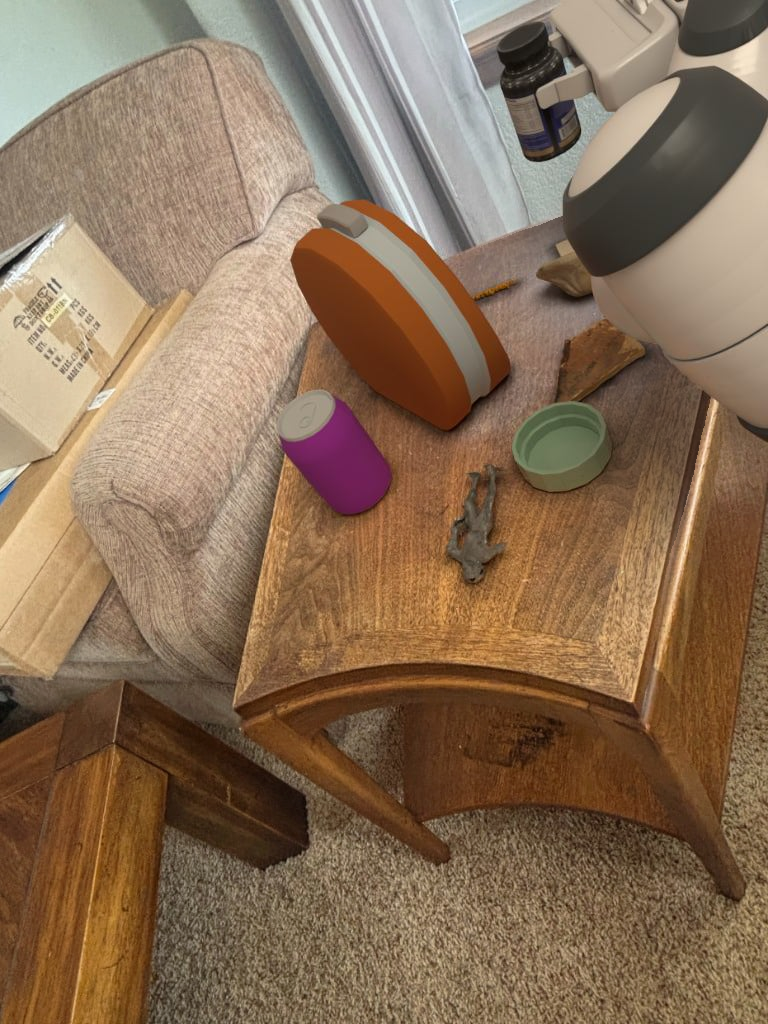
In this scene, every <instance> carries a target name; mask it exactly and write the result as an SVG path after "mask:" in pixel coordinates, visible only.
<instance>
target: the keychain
mask: <svg viewBox="0 0 768 1024" xmlns="http://www.w3.org/2000/svg"><path fill="white" fill-rule="evenodd" d="M515 283H517V280H506V282H503V283H501V284H496V286H493V287H491V288H488V289H485V290H484V291H480V292H479V293H477V294H474V295H472V296H471V297H472V298H473V300H474V301H475V299H476V300H479V299H480V298H481V297H482V298H484V297H485V296H489V295H493V294H495V292H498V291H499V290H503V289H505V288H507V289H510V285H514V284H515Z"/></svg>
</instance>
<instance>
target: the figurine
mask: <svg viewBox="0 0 768 1024" xmlns="http://www.w3.org/2000/svg"><path fill="white" fill-rule="evenodd" d="M482 465H483V469H485V471H486V472H487V474H488V476H489V478H487V479H486V478H482V480H483V481H489V485H488V490H487V492H486V495H485V497H484V500H483V503H482V506H481V509H479V508H478V506H477V504H476V499H477V497H478V495H479V492H477V490H476V489H477V486H478V481H479V479H480V478H481V477H480V476H481V473H480V472H479V471H473V472H464V473H463V475H464V476H468V477H469V478H470V480H471V487H470V489H469V490H468V493H467V495H466V497H465V499H464V501H463V503H462V502H461V500H460V501H459V502H460V503H461V507H462V509H463V512H462V513H461V515H460V516H459V517H454V519H453V521H452V522H453V523H452V524H451V525H450V527H449V531H450V533H451V535H450V537H449V539H448V541H447V542H448V543H447V544H445V548H446V550H445V554H448V556H449V557H451V559H455V560H456V561H458V562H460V563H461V570H462V578H463V580H464V581H467V582H468V583H471V584H476V583H478V582H480V581H481V580H482V579H483V578H484V575H485V573H486V570H485V566H484V565H483V564H484V563H488V562H489V561H491V560H492V559H493V558H494V557H495V556H496V555H497V554H501V553H502V552H503V551H505V550H506V547H507V542H506V541H501V542H499V543H495V544H494V545H492V546H491V547H490V546H489V540H488V535H489V534H490V532H491V531H492V529H493V527H494V523H493V519H494V508H493V507H494V505H493V504H495V498H496V494H497V490H498V489H497V485H496V479H497V478H499V477H501V478H502V477H503V476H502V475H497V476H496V474H497V472H501V473H502V472H504V471H506V470H507V469H506V468H504V467H503V465H501V466H500V467H499V466H494V465H493V464H491V463H489V462H488V463H487V462H483V463H482ZM460 527H461V528H460ZM466 531H468V532H467V533H466V535H465V537H464V540H463V543H462V546H461V548H459V535H460V536H462V535H463V533H465V532H466Z"/></svg>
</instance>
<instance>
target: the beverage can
mask: <svg viewBox="0 0 768 1024" xmlns="http://www.w3.org/2000/svg"><path fill="white" fill-rule="evenodd" d="M276 421H277V422H276V431H277V433H278V437H279V440H280V443H281V449H282V451H283V452H284V454H285V456H286V457H287V458H288V459H289V461H290V462H291V463H292V464H293V465H294V467H296V469H297V470H298V471H299V472H300V473H301V475H302V476H303V478H305V479H306V481H307V483H309V484H310V485H311V487H313V490H315V491H316V492H317V493H318V496H320V497H321V498H322V499H323V501H324V502H325V503H326V504H327V505H328V506H329V507H330V508H331V509H332V510H334V511H335V512H336V513H339V514H343V515H352V514H353V515H354V514H359V513H362V512H364V511H367V510H369V509H371V508H372V507H373V506H375V505H376V504H377V503H379V501H380V500H382V498H383V497H384V495H385V494H386V492H387V490H388V489H389V487H390V484H391V479H392V470H391V466H390V464H389V462H388V460H387V459H386V458H385V457H384V455H383V453H382V452H381V450H380V448H378V446H377V445H376V443H375V441H373V439H372V438H371V436H370V435H369V433H368V432H367V430H366V429H365V428H364V426H363V425H362V423H361V422H360V420H359V419H358V418H357V416H356V415H355V414H354V412H353V411H352V409H351V408H350V406H349V405H348V403H347V402H345V401H344V400H342V399H340V398H339V397H336V396H335V395H333V394H332V393H330V392H329V391H327V390H325V389H312V390H308V391H306V392H303V393H301V394H299V395H298V396H296V397H295V398H293V399H292V400H291V401H289V403H288V404H286V405H285V407H283V409H282V411H281V413H280V414H279V415H278V419H277V420H276Z"/></svg>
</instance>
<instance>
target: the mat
mask: <svg viewBox="0 0 768 1024" xmlns="http://www.w3.org/2000/svg"><path fill="white" fill-rule="evenodd" d="M555 248H556V250H557V253H558V254H559V257H562V256H564V255H567V254H569V253H572V252H574V250H573V248H572V246H571V245H570V243H569V241H568V239H567V238H566V239H564V240H562V241H560V242H558V243H556V244H555Z"/></svg>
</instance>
